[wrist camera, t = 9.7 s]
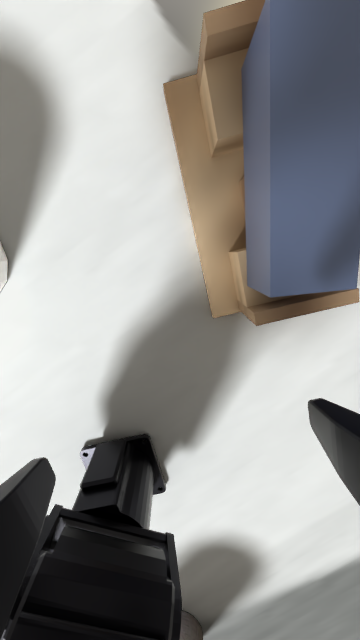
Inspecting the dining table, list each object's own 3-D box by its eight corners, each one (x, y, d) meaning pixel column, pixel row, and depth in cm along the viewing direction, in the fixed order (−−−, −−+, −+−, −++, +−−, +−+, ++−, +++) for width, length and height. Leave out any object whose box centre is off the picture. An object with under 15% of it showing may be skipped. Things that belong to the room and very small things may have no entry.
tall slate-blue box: (311, 279, 15) (356, 288, 12) (247, 285, 15) (270, 297, 12) (321, 59, 12) (385, -26, 9) (241, 69, 13) (269, -13, 9)
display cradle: (322, 45, 15) (391, -51, 10) (339, 285, 19) (394, 297, 14) (163, 92, 16) (157, 20, 11) (212, 315, 20) (223, 336, 15)
